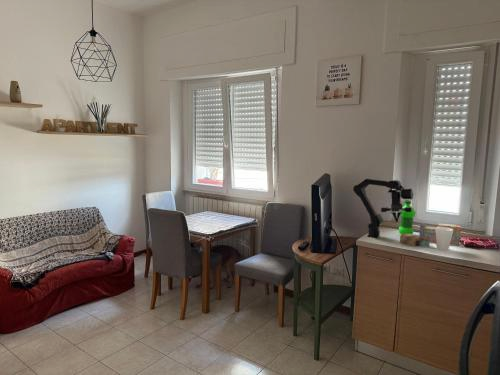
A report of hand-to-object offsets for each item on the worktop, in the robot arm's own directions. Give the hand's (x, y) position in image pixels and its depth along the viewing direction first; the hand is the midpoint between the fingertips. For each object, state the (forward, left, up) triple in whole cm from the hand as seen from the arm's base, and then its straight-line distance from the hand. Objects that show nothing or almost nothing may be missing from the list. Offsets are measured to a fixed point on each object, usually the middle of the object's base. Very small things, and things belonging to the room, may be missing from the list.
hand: (396, 222), depth 231 cm
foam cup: (+28, 0, -13) cm, 31 cm away
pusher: (+16, 0, -7) cm, 18 cm away
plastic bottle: (+1, +19, -13) cm, 23 cm away
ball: (+17, 0, -11) cm, 20 cm away
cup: (+18, 0, -13) cm, 22 cm away
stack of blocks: (+23, +18, -13) cm, 32 cm away
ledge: (+10, 0, -13) cm, 16 cm away
